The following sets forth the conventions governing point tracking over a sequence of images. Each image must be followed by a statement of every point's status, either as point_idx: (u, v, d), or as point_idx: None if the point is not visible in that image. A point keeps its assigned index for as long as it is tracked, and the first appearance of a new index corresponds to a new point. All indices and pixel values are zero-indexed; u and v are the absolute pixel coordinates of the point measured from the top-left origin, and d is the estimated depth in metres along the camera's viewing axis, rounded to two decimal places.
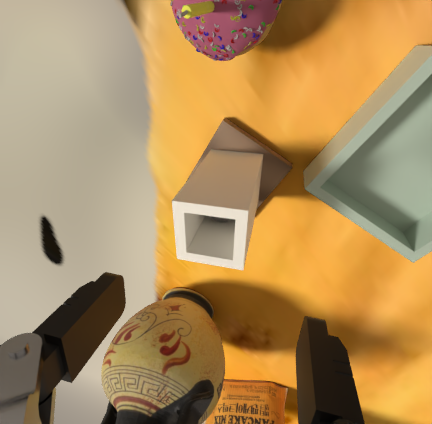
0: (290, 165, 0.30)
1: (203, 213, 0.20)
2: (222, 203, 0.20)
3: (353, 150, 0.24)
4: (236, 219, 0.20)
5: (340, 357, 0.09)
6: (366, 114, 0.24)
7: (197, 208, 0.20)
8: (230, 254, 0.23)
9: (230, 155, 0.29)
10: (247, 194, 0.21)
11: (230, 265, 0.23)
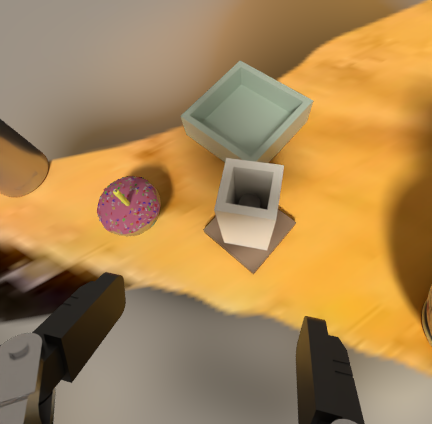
0: None
1: (227, 188, 0.26)
2: None
3: (226, 141, 0.39)
4: (233, 165, 0.27)
5: (340, 357, 0.09)
6: (210, 142, 0.41)
7: (222, 191, 0.26)
8: (272, 178, 0.27)
9: None
10: None
11: (279, 174, 0.26)
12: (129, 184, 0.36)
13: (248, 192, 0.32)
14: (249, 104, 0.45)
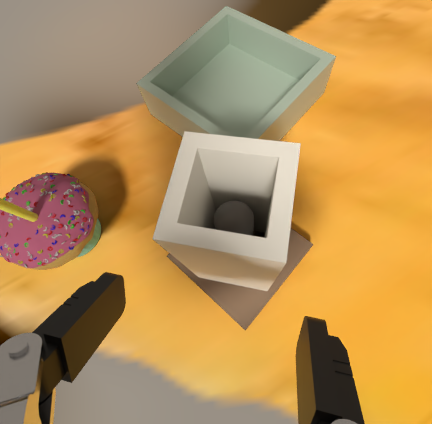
0: None
1: (182, 191, 0.13)
2: None
3: (203, 118, 0.25)
4: (197, 146, 0.14)
5: (340, 357, 0.09)
6: (180, 122, 0.27)
7: (172, 199, 0.13)
8: (276, 171, 0.13)
9: None
10: None
11: (291, 162, 0.13)
12: (43, 185, 0.22)
13: (234, 198, 0.18)
14: (240, 70, 0.31)
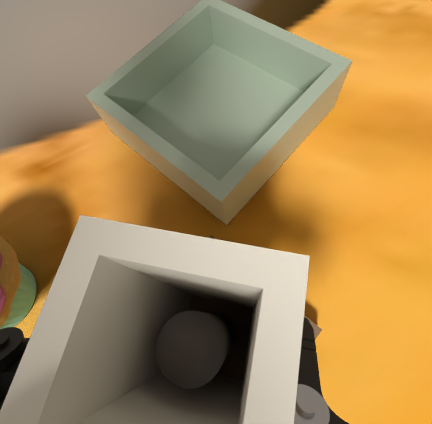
0: None
1: (52, 363, 0.06)
2: None
3: (169, 146, 0.18)
4: (99, 251, 0.07)
5: (306, 335, 0.10)
6: (143, 148, 0.20)
7: (28, 383, 0.06)
8: (259, 306, 0.06)
9: None
10: None
11: (290, 303, 0.06)
12: None
13: (199, 290, 0.11)
14: (226, 77, 0.25)
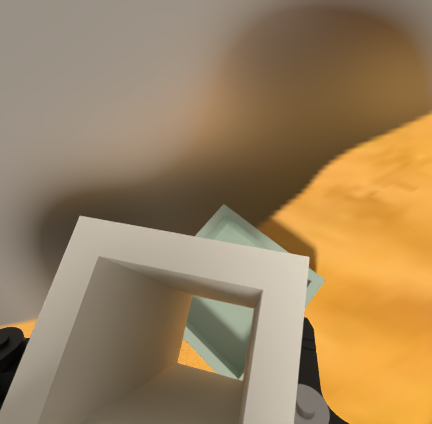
0: None
1: (51, 365, 0.06)
2: None
3: (203, 347, 0.27)
4: (98, 252, 0.07)
5: (306, 335, 0.10)
6: None
7: (27, 384, 0.06)
8: (259, 307, 0.06)
9: None
10: None
11: (290, 304, 0.06)
12: None
13: (199, 290, 0.11)
14: None
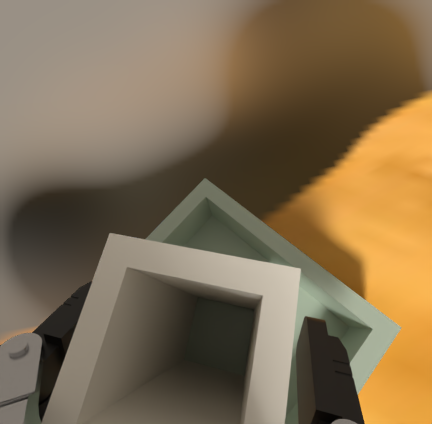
0: None
1: (92, 356, 0.07)
2: None
3: None
4: (127, 264, 0.08)
5: (340, 357, 0.09)
6: None
7: (73, 372, 0.07)
8: (260, 309, 0.08)
9: None
10: None
11: (285, 307, 0.07)
12: None
13: (206, 294, 0.13)
14: None
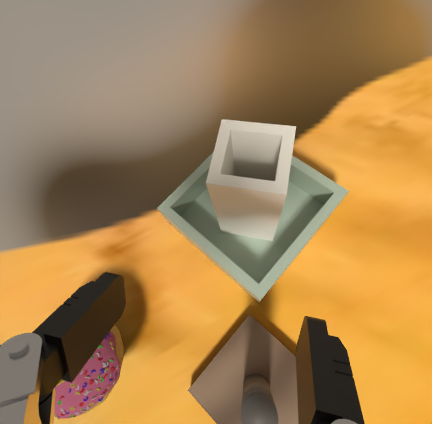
0: (248, 316, 0.27)
1: (222, 155, 0.20)
2: None
3: (222, 254, 0.26)
4: (230, 128, 0.21)
5: (340, 357, 0.09)
6: (199, 247, 0.29)
7: (216, 160, 0.20)
8: None
9: None
10: None
11: (290, 137, 0.20)
12: None
13: (250, 168, 0.26)
14: None
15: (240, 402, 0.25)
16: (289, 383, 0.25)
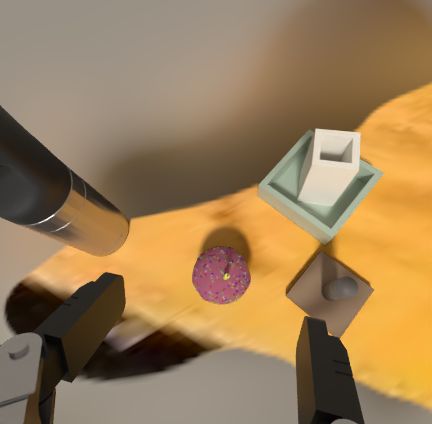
0: (320, 252, 0.43)
1: (319, 149, 0.36)
2: (313, 143, 0.37)
3: (305, 212, 0.42)
4: (321, 134, 0.37)
5: (340, 357, 0.09)
6: (286, 209, 0.44)
7: (316, 152, 0.36)
8: (351, 142, 0.37)
9: (299, 185, 0.46)
10: (311, 141, 0.40)
11: (357, 139, 0.36)
12: (224, 257, 0.39)
13: (323, 158, 0.42)
14: None
15: (320, 300, 0.40)
16: None
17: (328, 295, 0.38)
